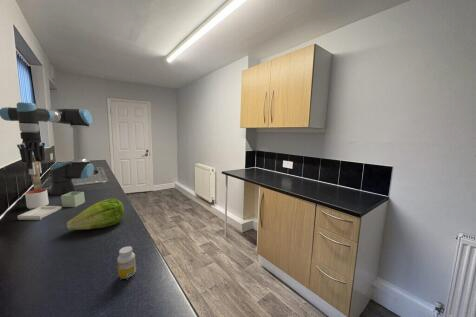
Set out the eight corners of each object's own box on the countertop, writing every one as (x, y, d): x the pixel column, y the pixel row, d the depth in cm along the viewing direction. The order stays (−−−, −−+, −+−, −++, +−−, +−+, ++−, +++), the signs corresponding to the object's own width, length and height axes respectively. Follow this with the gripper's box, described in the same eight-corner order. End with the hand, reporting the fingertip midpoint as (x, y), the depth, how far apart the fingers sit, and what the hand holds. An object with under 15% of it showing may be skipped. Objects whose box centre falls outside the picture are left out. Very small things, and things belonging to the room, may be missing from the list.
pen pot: (72, 203, 135) (71, 191, 134) (85, 203, 135) (83, 191, 134) (62, 207, 127) (60, 195, 126) (75, 208, 127) (74, 195, 126)
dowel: (37, 188, 116) (34, 161, 114) (43, 188, 116) (39, 161, 114) (32, 190, 113) (28, 162, 111) (38, 190, 113) (34, 162, 111)
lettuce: (65, 214, 102) (60, 209, 91) (118, 198, 118) (120, 191, 106) (72, 241, 100) (69, 240, 89) (126, 221, 115) (129, 217, 104)
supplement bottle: (123, 269, 73) (121, 245, 72) (138, 269, 73) (137, 244, 72) (115, 281, 68) (113, 254, 66) (132, 280, 68) (130, 254, 67)
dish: (42, 209, 124) (41, 205, 124) (61, 209, 124) (61, 206, 124) (18, 219, 110) (17, 215, 110) (40, 220, 110) (39, 215, 110)
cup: (53, 204, 133) (51, 189, 132) (36, 210, 123) (34, 194, 122) (39, 203, 134) (37, 188, 133) (22, 209, 124) (20, 193, 123)
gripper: (37, 131, 118) (42, 170, 121) (6, 131, 102) (13, 176, 105) (50, 131, 118) (54, 170, 121) (21, 132, 102) (28, 177, 106)
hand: (35, 173), depth 113 cm, fingers closed on dowel, 3 cm apart
